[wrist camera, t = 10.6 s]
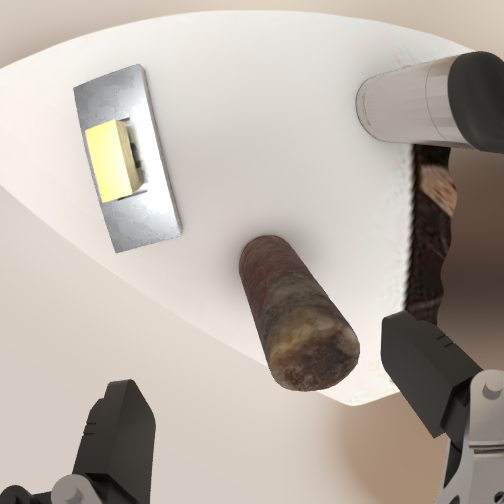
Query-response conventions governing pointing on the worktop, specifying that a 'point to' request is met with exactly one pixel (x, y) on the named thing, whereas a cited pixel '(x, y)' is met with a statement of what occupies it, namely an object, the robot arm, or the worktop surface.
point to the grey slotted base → (144, 155)
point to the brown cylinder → (295, 318)
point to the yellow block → (113, 160)
